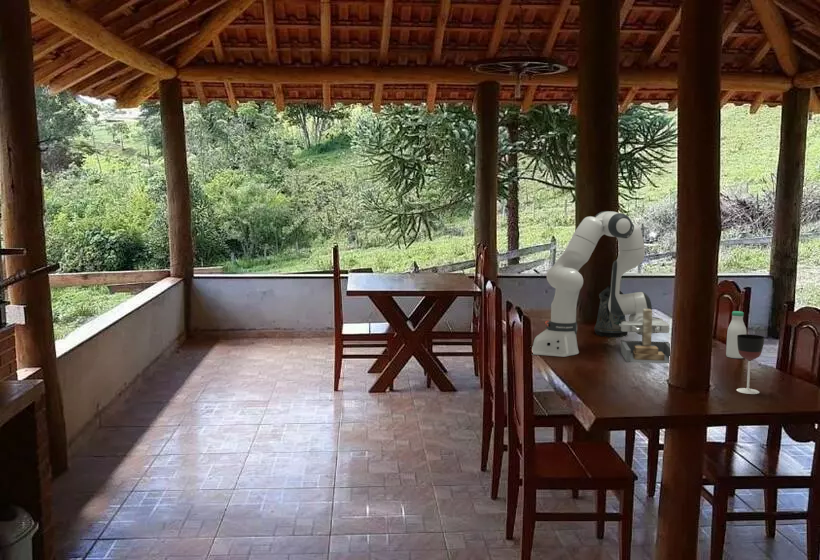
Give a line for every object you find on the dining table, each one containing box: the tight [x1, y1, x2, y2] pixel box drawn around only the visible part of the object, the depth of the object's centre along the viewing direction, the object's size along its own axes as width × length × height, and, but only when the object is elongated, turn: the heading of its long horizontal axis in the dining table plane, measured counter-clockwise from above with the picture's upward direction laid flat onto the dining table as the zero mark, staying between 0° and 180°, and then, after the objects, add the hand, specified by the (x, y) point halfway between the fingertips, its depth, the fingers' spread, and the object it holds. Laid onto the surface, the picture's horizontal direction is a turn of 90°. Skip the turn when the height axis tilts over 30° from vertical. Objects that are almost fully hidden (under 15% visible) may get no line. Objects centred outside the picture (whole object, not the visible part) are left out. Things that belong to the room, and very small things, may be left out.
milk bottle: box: [725, 310, 748, 359], centre depth 302 cm, size 8×8×20 cm
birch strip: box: [641, 309, 653, 346], centre depth 300 cm, size 3×5×20 cm, turn 170°
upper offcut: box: [634, 346, 658, 354], centre depth 295 cm, size 9×5×2 cm, turn 80°
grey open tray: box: [620, 340, 671, 364], centre depth 296 cm, size 20×20×6 cm
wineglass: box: [736, 334, 765, 395], centre depth 249 cm, size 8×9×20 cm
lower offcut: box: [633, 351, 665, 360], centre depth 295 cm, size 12×6×2 cm, turn 80°
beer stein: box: [594, 285, 629, 338], centre depth 351 cm, size 16×19×25 cm
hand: (647, 330), depth 299 cm, fingers open, 6 cm apart
